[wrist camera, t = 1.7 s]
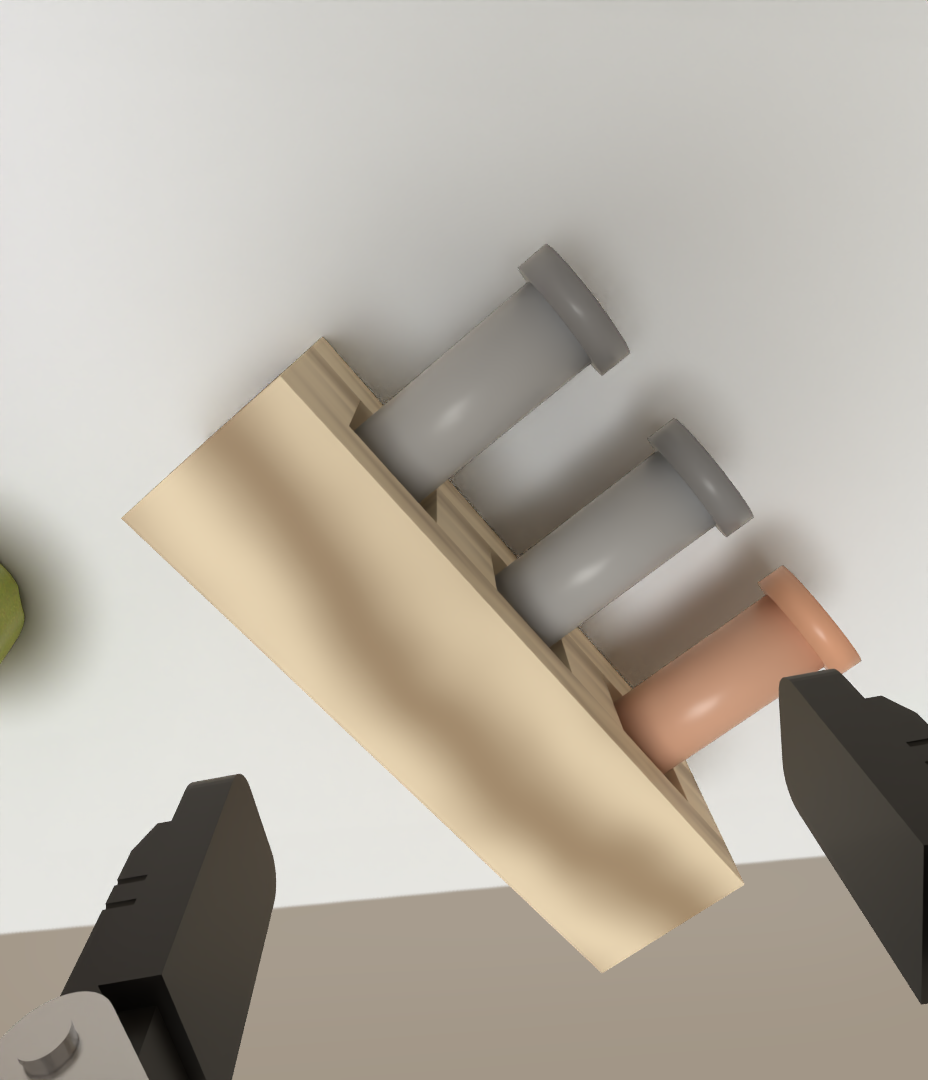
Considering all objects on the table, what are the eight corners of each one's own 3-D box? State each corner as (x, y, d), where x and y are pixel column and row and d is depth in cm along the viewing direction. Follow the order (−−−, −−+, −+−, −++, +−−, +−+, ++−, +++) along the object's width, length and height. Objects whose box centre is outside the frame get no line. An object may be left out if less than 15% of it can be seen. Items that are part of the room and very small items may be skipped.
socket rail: (322, 336, 34) (280, 375, 25) (674, 737, 42) (744, 884, 32) (203, 442, 35) (121, 518, 26) (565, 811, 43) (602, 973, 34)
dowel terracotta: (766, 549, 35) (815, 596, 30) (824, 625, 36) (878, 681, 32) (564, 694, 37) (582, 758, 33) (625, 761, 38) (651, 831, 34)
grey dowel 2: (660, 407, 33) (696, 434, 28) (725, 494, 34) (770, 535, 29) (451, 571, 35) (453, 621, 30) (520, 647, 36) (533, 705, 32)
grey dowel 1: (537, 243, 30) (555, 244, 26) (613, 344, 32) (643, 362, 27) (321, 429, 32) (303, 461, 28) (401, 516, 34) (396, 560, 29)
